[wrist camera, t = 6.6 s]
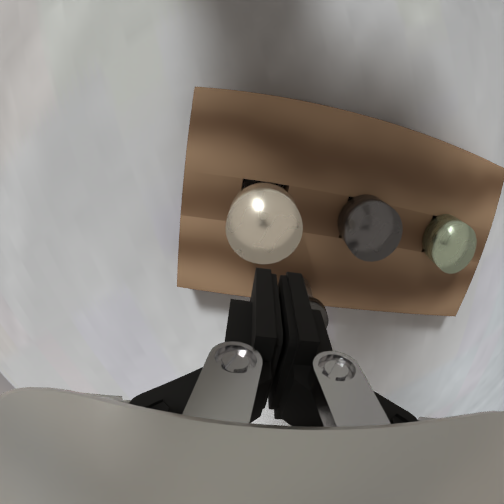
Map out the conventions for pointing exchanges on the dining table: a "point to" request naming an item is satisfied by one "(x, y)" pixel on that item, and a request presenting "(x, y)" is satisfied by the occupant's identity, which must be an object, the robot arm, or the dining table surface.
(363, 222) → the knob charcoal
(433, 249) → the knob sage
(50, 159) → the dining table surface
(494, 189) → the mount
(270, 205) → the knob cream
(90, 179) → the dining table surface
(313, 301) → the dial post
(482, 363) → the dining table surface
